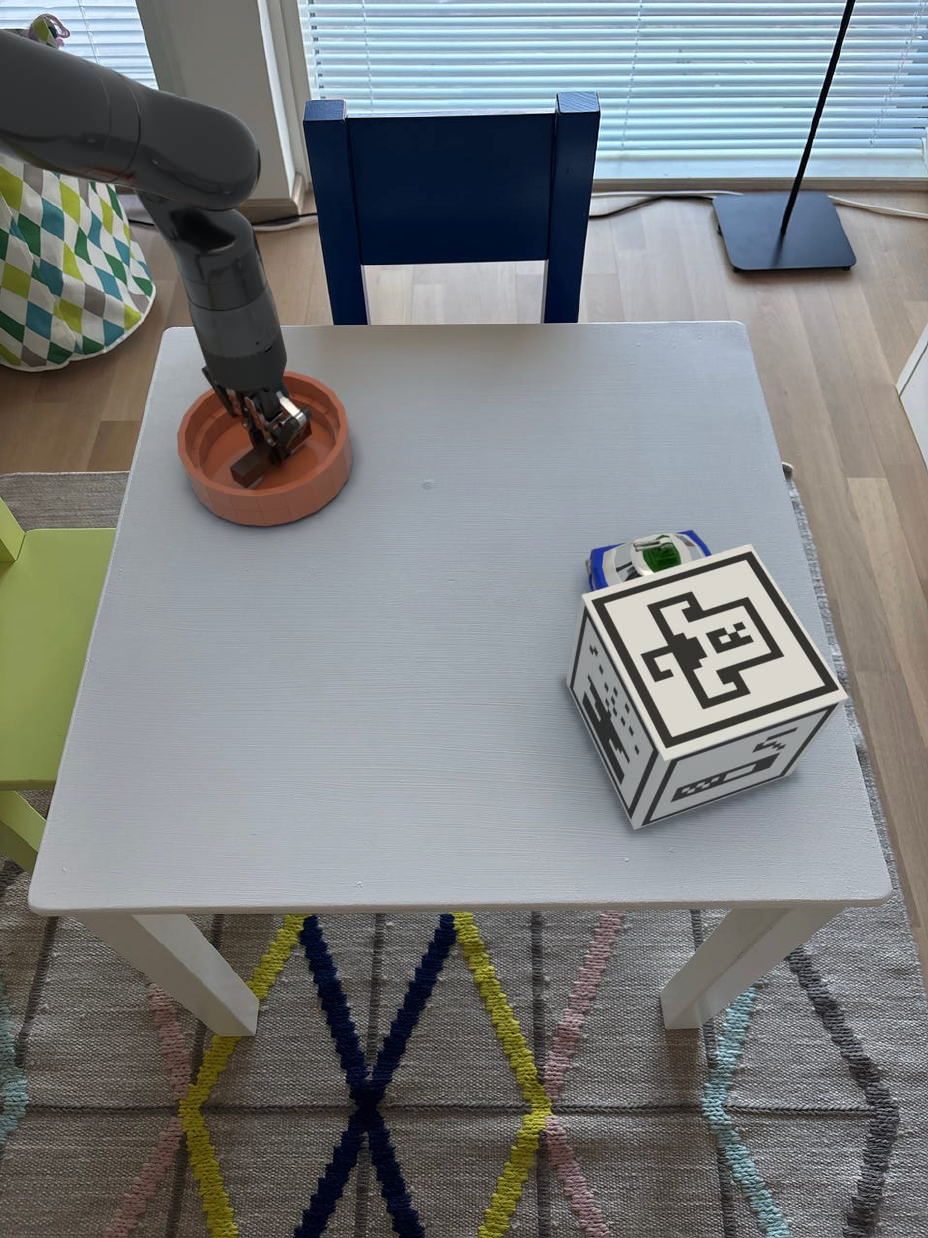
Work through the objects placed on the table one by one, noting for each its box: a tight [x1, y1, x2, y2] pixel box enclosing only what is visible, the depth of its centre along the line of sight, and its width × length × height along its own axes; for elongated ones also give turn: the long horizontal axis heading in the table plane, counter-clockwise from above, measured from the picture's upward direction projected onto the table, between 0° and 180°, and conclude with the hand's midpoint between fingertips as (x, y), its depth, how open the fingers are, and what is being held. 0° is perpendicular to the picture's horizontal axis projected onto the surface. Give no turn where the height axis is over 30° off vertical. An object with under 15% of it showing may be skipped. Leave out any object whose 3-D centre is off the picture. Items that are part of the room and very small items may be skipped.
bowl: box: [176, 370, 354, 527], centre depth 98 cm, size 18×18×6 cm
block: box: [565, 543, 850, 831], centre depth 76 cm, size 15×15×15 cm
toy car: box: [584, 529, 713, 592], centre depth 86 cm, size 9×12×10 cm
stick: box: [230, 421, 312, 489], centre depth 97 cm, size 2×10×2 cm, turn 142°
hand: (273, 455), depth 98 cm, fingers closed on stick, 2 cm apart
